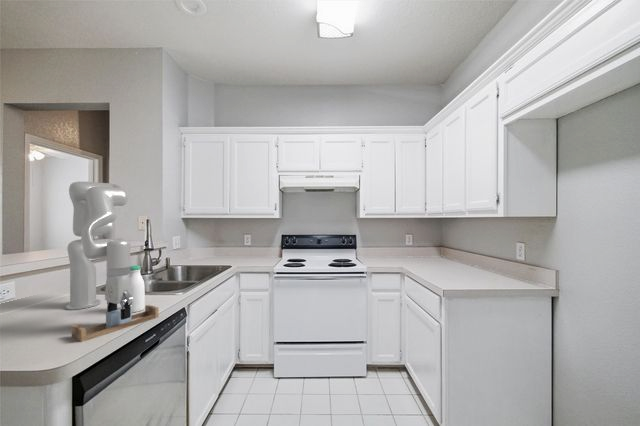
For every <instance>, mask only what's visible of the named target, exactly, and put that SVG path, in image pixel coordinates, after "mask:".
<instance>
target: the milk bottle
mask: <svg viewBox="0 0 640 426" xmlns="http://www.w3.org/2000/svg"><path fill="white" fill-rule="evenodd" d="M129 277H130V285H131V296H132V298H133V299H132V304H131V314H132V313H140V312H141V311H142V312H143V310H144V311H145V306H146V304H145V303H146V295H145V294H146V293H145V291H146V290H145V289H146V288H145V281H144V279H143V276H142V274H141V265H138V264H137V265H130V275H129ZM123 304H124V305H125V303H123Z"/></svg>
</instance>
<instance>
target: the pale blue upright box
mask: <svg viewBox="0 0 640 426" xmlns="http://www.w3.org/2000/svg"><path fill="white" fill-rule="evenodd" d="M121 309H122V308H119V309H118V308H117V310H114V311H111V312H105V323H106V328H105V329H107V328H110V327H114V326H117V325H120V324H123V323H127V322H130V321H132V320H131V317H130V318H127V319H123V320H121Z"/></svg>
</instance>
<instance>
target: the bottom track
mask: <svg viewBox="0 0 640 426" xmlns="http://www.w3.org/2000/svg"><path fill="white" fill-rule="evenodd" d="M159 316H160V315H159V307H158V306H155V305H151V304H145V308H144V311H142V312H137V313H135V314H131V321H130V322H127V323H123V324H120V325H117V326H114V327H110V328H107V329H106V322H104V323H101V324H97V325H95V326H91V327H88V328H85V327H82V326H80V325H78V324H74V325H71V338H72V339H74V340H76V341H78V342H81V343H83V342H85V341H88V340H91V339H95V338H98V337H101V336H104V335H107V334H110V333H114V332H116V331H119V330H123V329H126V328H129V327H132V326H135V325H138V324H140V323H144V322H147V321H151V320H154V319H156V318H159Z"/></svg>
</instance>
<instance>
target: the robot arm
mask: <svg viewBox="0 0 640 426" xmlns="http://www.w3.org/2000/svg"><path fill="white" fill-rule="evenodd" d="M68 195H69V199H70V201H71V203H72V206H73V214H72V215H73V216H72V232H73V235H74V236H76V237H79V238H81V239H75V240H72V241H70V242H69V243H68V245H67V255H68V261H69V274H70V275H69V276H70V277H69V284H70V285H69V288H70V289H69V295H70V296H69V297H70V299H69V300H70V301H69V303H68V304H66V305H65V309H66V310H70V311H73V310H74V311H75V310H82V309H88V308H89V309H90V308H93V307H95V306H98V305H99V304H101V300H100V299H97V267H96V265H95V264H94V263H93V262H92V261H91V260H99V259H106V279H105V281H106V282H105V288H104V289H105V291H104V300H105V301H106V304H107V312H111V311H114V310H118V304H119V305H120V307H121V308H120V309H121V320H123V319H127V318H130V317H131V315H132V313H131V304H132V299H133V298H132V296H131V285H130V277H129V275H130V266H131V242H130V241H129V240H127V239H124V238H119V237H118V238H116V237H115V236H116V235H115V234H116V225H115V220H116V219H117V213H116V209H115V207H122V206H125V205H126V204H127V203H128V194H127V192H126V190H125V189H124V187H121V186H119V185H117V184H115V183H107V182H97V181H96V182H95V181H75V182H72V183H70V185H69V187H68ZM93 237H98V238H93ZM99 237H101V238H99ZM124 303H125V305H124ZM107 312H106V313H107Z"/></svg>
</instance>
